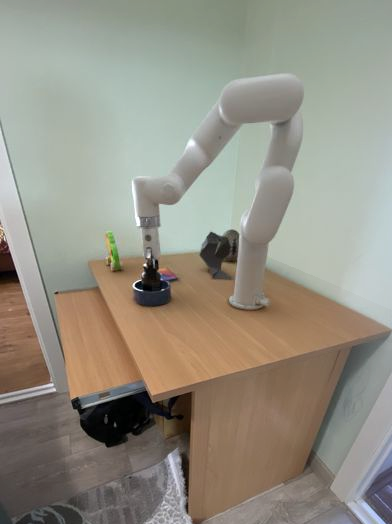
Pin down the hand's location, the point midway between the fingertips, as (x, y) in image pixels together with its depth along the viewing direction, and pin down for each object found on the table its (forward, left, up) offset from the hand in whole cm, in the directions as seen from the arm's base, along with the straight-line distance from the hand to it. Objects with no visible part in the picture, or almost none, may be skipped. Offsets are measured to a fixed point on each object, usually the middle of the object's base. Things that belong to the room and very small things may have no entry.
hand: (153, 274), depth 102 cm
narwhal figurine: (+4, -38, -9) cm, 40 cm away
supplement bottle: (+1, +1, -9) cm, 9 cm away
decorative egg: (+11, -58, -9) cm, 60 cm away
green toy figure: (+42, -11, -9) cm, 44 cm away
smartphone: (+17, -19, -9) cm, 27 cm away
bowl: (+1, +1, -9) cm, 9 cm away
